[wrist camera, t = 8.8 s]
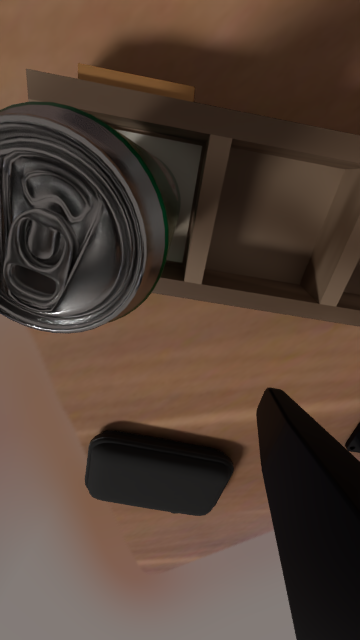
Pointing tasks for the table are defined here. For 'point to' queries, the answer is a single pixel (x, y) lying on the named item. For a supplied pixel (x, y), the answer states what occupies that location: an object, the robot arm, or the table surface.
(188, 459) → the carrying case or bag
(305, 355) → the table surface
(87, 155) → the soda can
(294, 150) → the can rack
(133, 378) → the table surface
